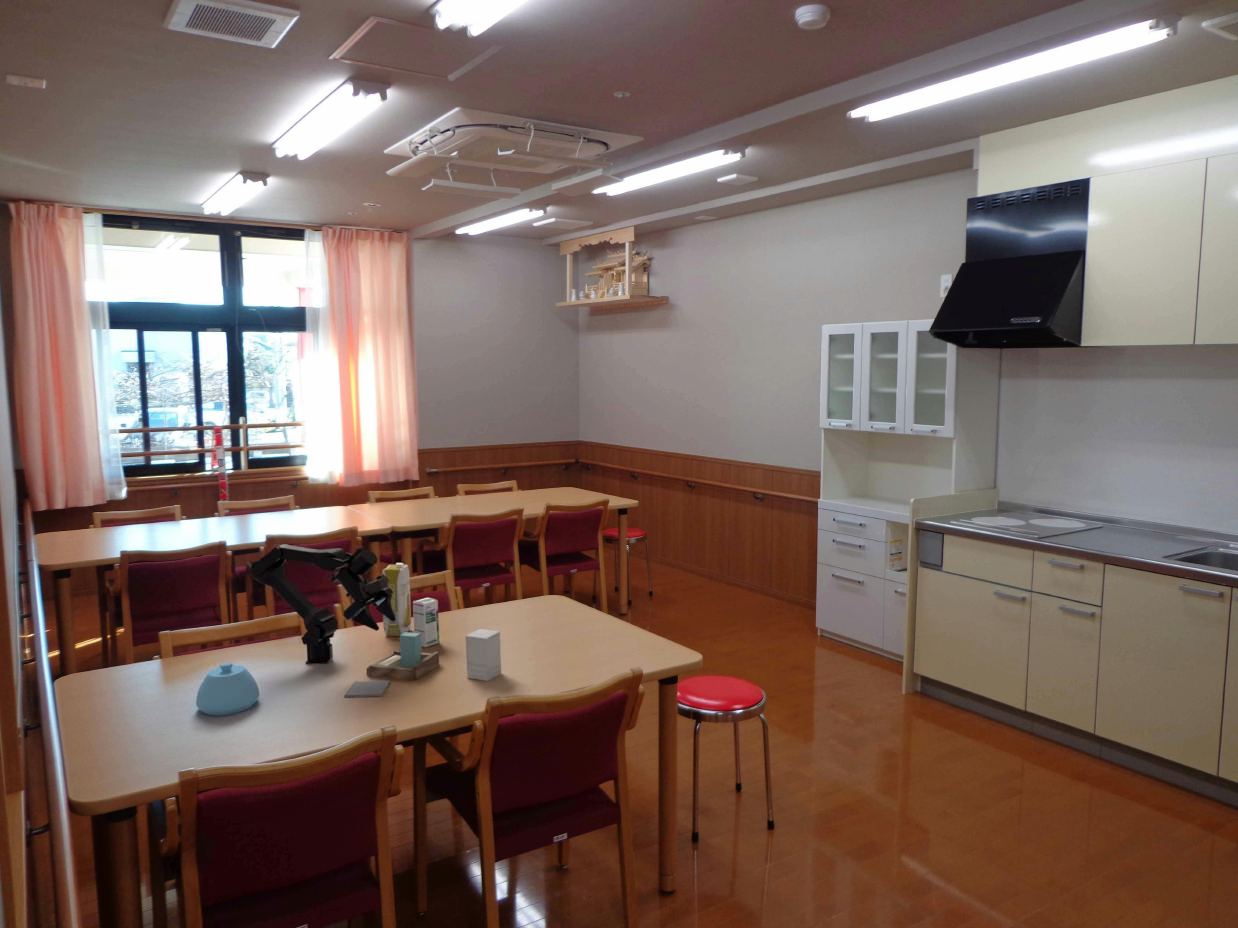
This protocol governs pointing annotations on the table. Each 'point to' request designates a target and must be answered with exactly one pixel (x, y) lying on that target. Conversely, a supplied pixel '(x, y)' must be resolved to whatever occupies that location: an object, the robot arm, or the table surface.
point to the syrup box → (426, 621)
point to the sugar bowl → (227, 691)
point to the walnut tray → (413, 674)
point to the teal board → (410, 649)
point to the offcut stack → (392, 661)
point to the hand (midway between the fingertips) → (386, 625)
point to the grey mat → (367, 689)
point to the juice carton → (398, 599)
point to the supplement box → (483, 654)
